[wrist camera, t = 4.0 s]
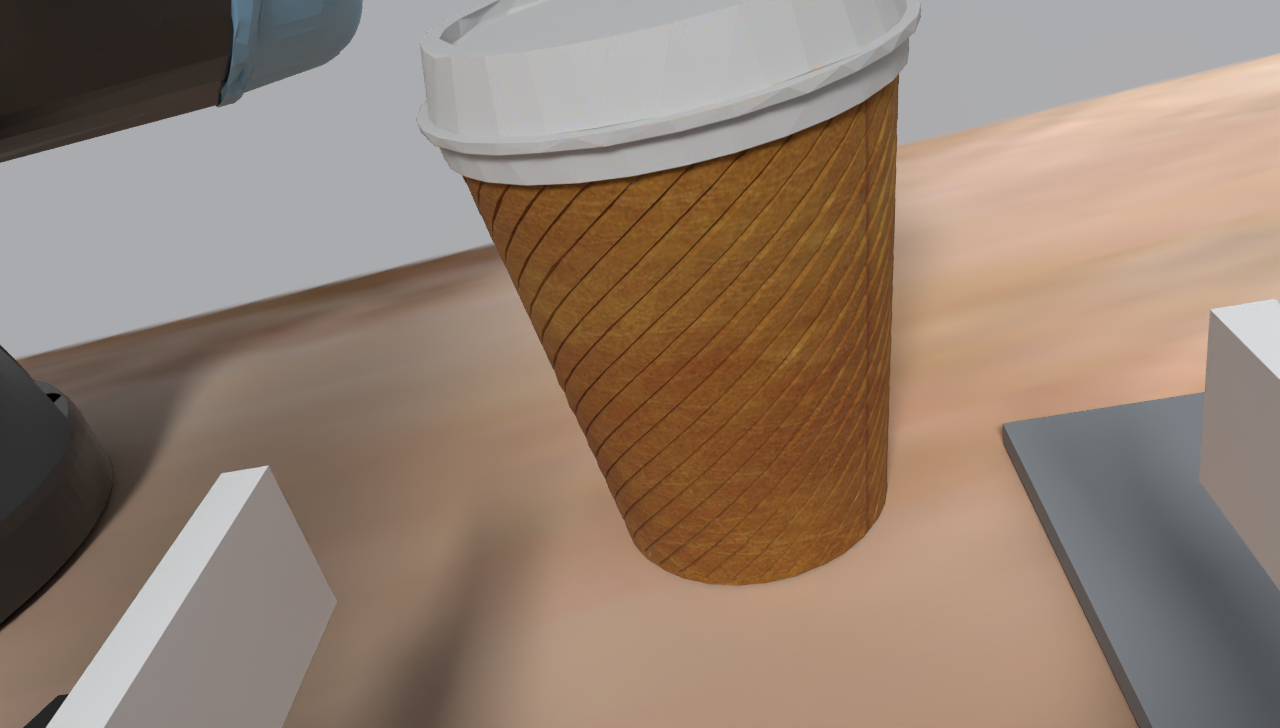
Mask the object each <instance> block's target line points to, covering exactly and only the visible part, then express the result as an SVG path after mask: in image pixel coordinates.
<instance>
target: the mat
mask: <svg viewBox="0 0 1280 728" xmlns="http://www.w3.org/2000/svg"><path fill="white" fill-rule="evenodd" d="M1204 395H1205V392H1203V393H1197V394H1190V395H1184V396H1177V397H1171V398H1164V399H1158V400H1152V401H1145V402H1139V403H1132V404H1126V405H1119V406H1113V407H1107V408H1100V409H1094V410H1087V411H1081V412H1074V413H1068V414H1062V415H1055V416H1049V417H1042V418H1036V419H1029V420H1023V421H1017V422H1010V423H1004V424H1003V435H1004V445H1005V448H1006V450H1007V452H1008V454H1009V456H1010V458H1011V460H1012V462H1013V464H1014V466H1015V468H1016V471H1017V473H1018V475H1019V477H1020V479H1021V481H1022V483H1023V485H1024V487H1025V489H1026V491H1027V493H1028V496H1029V498H1030V500H1031V502H1032V504H1033V506H1034V508H1035V510H1036V512H1037V514H1038V516H1039V519H1040V521H1041V523H1042V525H1043V527H1044V529H1045V531H1046V533H1047V535H1048V537H1049V539H1050V542H1051V544H1052V546H1053V548H1054V550H1055V552H1056V554H1057V556H1058V558H1059V560H1060V562H1061V565H1062V567H1063V569H1064V571H1065V573H1066V575H1067V577H1068V579H1069V581H1070V583H1071V585H1072V588H1073V590H1074V592H1075V594H1076V596H1077V598H1078V600H1079V602H1080V604H1081V606H1082V608H1083V610H1084V613H1085V615H1086V617H1087V619H1088V621H1089V623H1090V625H1091V627H1092V629H1093V631H1094V633H1095V636H1096V638H1097V640H1098V642H1099V644H1100V646H1101V648H1102V650H1103V652H1104V654H1105V656H1106V659H1107V661H1108V663H1109V665H1110V667H1111V669H1112V671H1113V673H1114V675H1115V677H1116V679H1117V682H1118V684H1119V686H1120V688H1121V690H1122V692H1123V694H1124V696H1125V698H1126V700H1127V702H1128V705H1129V707H1130V709H1131V711H1132V713H1133V715H1134V717H1135V719H1136V721H1137V723H1138V725H1139V727H1140V728H1280V590H1279V589H1278V588H1277V586H1276V585H1275V584H1274V582H1273V581H1272V579H1271V578H1270V577H1269V575H1268V574H1267V573H1266V571H1265V570H1264V568H1263V567H1262V566H1261V564H1260V563H1259V562H1258V560H1257V559H1256V558H1255V556H1254V555H1253V553H1252V552H1251V551H1250V549H1249V548H1248V547H1247V545H1246V544H1245V542H1244V541H1243V540H1242V538H1241V537H1240V536H1239V534H1238V533H1237V532H1236V530H1235V529H1234V527H1233V526H1232V525H1231V523H1230V522H1229V521H1228V519H1227V518H1226V516H1225V515H1224V514H1223V512H1222V511H1221V510H1220V508H1219V507H1218V506H1217V504H1216V503H1215V501H1214V500H1213V499H1212V497H1211V496H1210V495H1209V493H1208V492H1207V490H1206V489H1205V488H1204V486H1203V485H1202V484H1201V482H1200V481H1199V471H1200V456H1201V441H1202V425H1203V410H1204Z"/></svg>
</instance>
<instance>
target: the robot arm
mask: <svg viewBox="0 0 1280 728" xmlns="http://www.w3.org/2000/svg"><path fill="white" fill-rule="evenodd" d="M362 2H363V0H0V163H1V162H5V161H8V160H12V159H16V158H19V157H23V156H27V155H31V154H35V153H39V152H42V151H46V150H50V149H54V148H57V147H61V146H65V145H69V144H72V143H76V142H80V141H84V140H87V139H91V138H95V137H99V136H102V135H106V134H110V133H114V132H117V131H121V130H125V129H129V128H132V127H136V126H140V125H144V124H147V123H151V122H155V121H159V120H162V119H166V118H170V117H174V116H177V115H181V114H185V113H189V112H192V111H196V110H200V109H204V108H207V107H211V106H215V105H216V106H217V107H221V106H225V105H228V104H233V103H235V102H236V101H237V100H239V99H240V98H241V97H242V95H243V93H245V92H248V91H250V90H253V89H256V88H259V87H262V86H265V85H268V84H270V83H273V82H276V81H279V80H282V79H285V78H287V77H290V76H293V75H296V74H299V73H302V72H304V71H307V70H310V69H313V68H316V67H318V66H321V65H323V64H326V63H327V62H329V61H330V60H332V59H333V58H334V57H336V56H337V55H339V54H340V51H342V49H344V48H345V47H346V46H347V45H348V44H349V43H350V41H351V39H352V38H353V36H354V35H355V33H356V30H357V28H358V25H359V23H360V19H361V14H362ZM112 480H113V471H112V466H111V462H110V460H109V458H108V456H107V455H106V453H105V451H104V450H103V448H102V446H101V445H100V443H99V441H98V440H97V438H96V436H95V435H94V433H93V431H92V430H91V428H90V426H89V425H88V423H87V421H86V420H85V418H84V416H83V415H82V413H81V412H80V410H79V409H78V408H77V407H76V405H75V404H74V403H73V402H72V401H71V400H70V399H69V398H68V397H67V396H65V395H64V394H63V393H62V392H60V391H59V390H58V389H56V388H55V387H54V386H51V385H49V384H47V383H44V382H40V381H35V380H33V379H32V378H31V377H30V376H29V374H28V373H27V372H26V371H25V370H24V369H23V368H22V367H21V365H20V364H19V363H18V362H17V361H16V360H15V359H14V358H13V357H12V356H11V355H10V354H9V353H8V352H7V351H6V350H5V349H4V348H3V347H2V346H1V345H0V623H1V622H2V621H3V620H5V619H6V618H7V617H8V616H9V615H11V614H12V613H13V612H14V611H15V610H16V609H18V608H19V607H20V606H21V605H22V604H23V603H25V602H26V601H27V600H28V599H29V598H30V597H31V596H32V595H33V594H34V593H36V592H37V591H38V590H39V589H40V588H41V587H42V586H43V585H44V584H45V583H46V582H47V581H48V580H49V579H50V578H51V577H52V576H53V575H54V574H55V573H56V572H57V571H58V570H59V569H60V568H61V567H62V565H63V564H64V563H65V562H66V561H67V560H68V559H69V558H70V557H71V555H72V554H73V553H74V552H75V551H76V549H77V548H78V547H79V546H80V544H81V543H82V542H83V541H84V539H85V538H86V537H87V535H88V534H89V532H90V531H91V529H92V528H93V526H94V525H95V523H96V522H97V520H98V518H99V516H100V515H101V513H102V511H103V509H104V507H105V505H106V503H107V500H108V497H109V494H110V491H111V487H112ZM1199 481H1200V482H1201V484H1202V485H1203V486H1204V488H1205V489H1206V490H1207V492H1208V493H1209V495H1210V496H1211V497H1212V499H1213V500H1214V501H1215V503H1216V504H1217V506H1218V507H1219V508H1220V510H1221V511H1222V512H1223V514H1224V515H1225V516H1226V518H1227V519H1228V521H1229V522H1230V523H1231V525H1232V526H1233V527H1234V529H1235V530H1236V532H1237V533H1238V534H1239V536H1240V537H1241V538H1242V540H1243V541H1244V542H1245V544H1246V545H1247V547H1248V548H1249V549H1250V551H1251V552H1252V553H1253V555H1254V556H1255V558H1256V559H1257V560H1258V562H1259V563H1260V564H1261V566H1262V567H1263V568H1264V570H1265V571H1266V573H1267V574H1268V575H1269V577H1270V578H1271V579H1272V581H1273V582H1274V584H1275V585H1276V586H1277V588H1278V589H1279V590H1280V303H1278V302H1277V301H1276V300H1275V299H1270V300H1264V301H1258V302H1252V303H1246V304H1240V305H1234V306H1228V307H1222V308H1216V309H1210V319H1209V334H1208V350H1207V365H1206V380H1205V395H1204V410H1203V425H1202V441H1201V456H1200V471H1199ZM336 604H337V600H336V598H335V596H334V594H333V593H332V591H331V589H330V587H329V585H328V583H327V581H326V579H325V577H324V575H323V573H322V571H321V569H320V567H319V565H318V563H317V561H316V559H315V557H314V555H313V553H312V551H311V549H310V547H309V545H308V543H307V541H306V539H305V537H304V535H303V533H302V531H301V529H300V527H299V525H298V523H297V521H296V519H295V517H294V515H293V513H292V511H291V509H290V507H289V505H288V503H287V501H286V499H285V497H284V495H283V493H282V491H281V489H280V487H279V485H278V483H277V481H276V479H275V477H274V475H273V473H272V471H271V469H270V467H269V466H263V467H257V468H251V469H245V470H239V471H233V472H227V473H221V475H220V476H219V478H218V479H217V481H216V482H215V484H214V485H213V486H212V488H211V489H210V491H209V492H208V494H207V495H206V497H205V498H204V499H203V501H202V502H201V504H200V505H199V507H198V508H197V510H196V511H195V512H194V514H193V515H192V517H191V518H190V520H189V521H188V523H187V524H186V525H185V527H184V528H183V530H182V531H181V533H180V534H179V536H178V537H177V538H176V540H175V541H174V543H173V544H172V546H171V547H170V549H169V550H168V552H167V553H166V554H165V556H164V557H163V559H162V560H161V562H160V563H159V565H158V566H157V567H156V569H155V570H154V572H153V573H152V575H151V576H150V578H149V579H148V580H147V582H146V583H145V585H144V586H143V588H142V589H141V591H140V592H139V593H138V595H137V596H136V598H135V599H134V601H133V602H132V604H131V605H130V607H129V608H128V609H127V611H126V612H125V614H124V615H123V617H122V618H121V620H120V621H119V622H118V624H117V625H116V627H115V628H114V630H113V631H112V633H111V634H110V635H109V637H108V638H107V640H106V641H105V643H104V644H103V646H102V647H101V648H100V650H99V651H98V653H97V654H96V656H95V657H94V659H93V660H92V662H91V663H90V664H89V666H88V667H87V669H86V670H85V672H84V673H83V675H82V676H81V677H80V679H79V680H78V682H77V683H76V685H75V686H74V688H73V689H72V690H71V692H70V693H69V694H66V695H58V696H57V697H56V698H55V699H54V700H53V701H52V702H51V703H50V704H48V705H47V706H46V707H45V708H44V709H43V710H42V711H41V712H40V713H39V714H38V715H37V716H35V717H34V718H33V719H32V720H31V721H30V722H29V723H28V724H27V725H26V726H25V727H24V728H282V727H283V724H284V722H285V720H286V718H287V715H288V713H289V711H290V708H291V706H292V704H293V702H294V699H295V697H296V695H297V692H298V690H299V688H300V686H301V683H302V681H303V679H304V677H305V674H306V672H307V670H308V667H309V665H310V663H311V661H312V658H313V656H314V654H315V651H316V649H317V647H318V645H319V642H320V640H321V638H322V636H323V633H324V631H325V629H326V626H327V624H328V622H329V620H330V617H331V615H332V613H333V610H334V608H335V606H336Z"/></svg>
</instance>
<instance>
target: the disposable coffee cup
mask: <svg viewBox="0 0 1280 728" xmlns="http://www.w3.org/2000/svg"><path fill="white" fill-rule="evenodd" d="M920 17H921V2H920V0H488V1H486V2H484V3H482V4H479V5H477V6H475V7H473V8H471V9H469V10H466V11H464V12H462V13H460V14H458V15H455V16H453V17H451V18H449V19H448V20H446V21H445V22H443V23H442V24H440V25H438V26H437V27H435V28H434V29H432V30H431V31H429V32H427V33H426V35H425V37H424V38H423V39H422V41H421V42H420V48H421V56H422V65H423V73H424V81H425V88H426V97H427V100H426V102H424V104H422V105H421V107H420V110H419V113H418V116H417V119H416V121H417V123H418V126H419V128H420V131H421V133H422V134H423V135H424V136H426V138H427V139H428V140H429V141H430V142H431V143H432V144H433V145H434V146H437V147H440V149H441V152H442V154H443V156H444V158H445V160H446V162H447V163H448V165H449V167H450V168H451V169H452V170H454V171H456V172H457V173H460V174H461V175H462V176H463V178H464V180H465V182H466V183H467V185H468V187H469V189H470V192H471V194H472V196H473V199H474V201H475V203H476V206H477V208H478V210H479V213H480V214H481V216H482V217H483V220H484V222H485V224H486V227H487V229H488V231H489V233H490V236H491V238H492V240H493V242H494V243H495V245H496V247H497V249H498V251H499V254H500V256H501V258H502V260H503V262H504V265H505V267H506V268H507V270H508V273H509V275H510V277H511V279H512V281H513V284H514V286H515V288H516V290H517V292H518V294H519V296H520V298H521V301H522V303H523V305H524V307H525V309H526V312H527V314H528V315H529V317H530V320H531V322H532V324H533V326H534V329H535V331H536V333H537V335H538V337H539V340H540V342H541V344H542V345H543V348H544V350H545V352H546V354H547V356H548V359H549V361H550V363H551V365H552V367H553V369H554V371H555V373H556V376H557V379H558V382H559V385H560V386H561V388H562V389H563V391H564V392H565V394H566V397H567V400H568V403H569V406H570V408H571V410H572V411H573V413H574V414H575V416H576V417H577V420H578V423H579V425H580V427H581V429H582V431H583V433H584V434H585V436H586V439H587V441H588V444H589V447H590V449H591V450H592V452H593V454H594V456H595V458H596V460H597V463H598V466H599V468H600V470H601V472H602V474H603V476H604V477H605V479H606V482H607V485H608V487H609V490H610V492H611V494H612V496H613V498H614V500H615V502H616V504H617V507H618V509H619V511H620V513H621V515H622V517H623V519H624V520H625V523H626V526H627V528H628V531H629V533H630V536H631V538H632V540H633V542H634V544H635V546H636V547H637V548H638V549H639V550H640V551H641V552H642V554H643V555H644V556H645V557H646V558H647V559H648V560H650V561H651V562H653V563H655V564H656V565H658V566H659V567H661V568H663V569H664V570H666V571H667V572H670V573H672V574H675V575H677V576H680V577H682V578H685V579H689V580H694V581H699V582H703V583H708V584H722V585H746V584H757V583H767V582H771V581H776V580H780V579H784V578H789V577H793V576H796V575H799V574H801V573H804V572H806V571H808V570H811V569H813V568H816V567H818V566H821V565H823V564H826V563H827V562H829V561H831V560H833V559H834V558H836V557H838V556H840V555H841V554H843V553H845V552H846V551H847V550H848V549H849V548H851V547H852V546H853V545H854V544H856V543H857V542H858V541H859V540H860V539H862V538H863V537H864V535H865V534H866V533H867V531H868V530H869V529H870V528H871V526H872V525H873V524H874V522H875V521H876V520H877V518H878V517H879V515H880V512H881V510H882V508H883V506H884V504H885V498H886V492H887V449H888V418H889V388H890V387H889V379H890V352H891V321H892V291H893V286H892V279H893V260H894V257H893V248H894V225H895V184H896V152H897V119H898V84H899V73H900V72H901V70H902V69H903V68H904V67H905V65H906V64H907V60H908V53H909V37H910V36H911V35H912V34H913V33H914V32H915V31H916V28H917V25H918V23H919V20H920Z"/></svg>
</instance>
